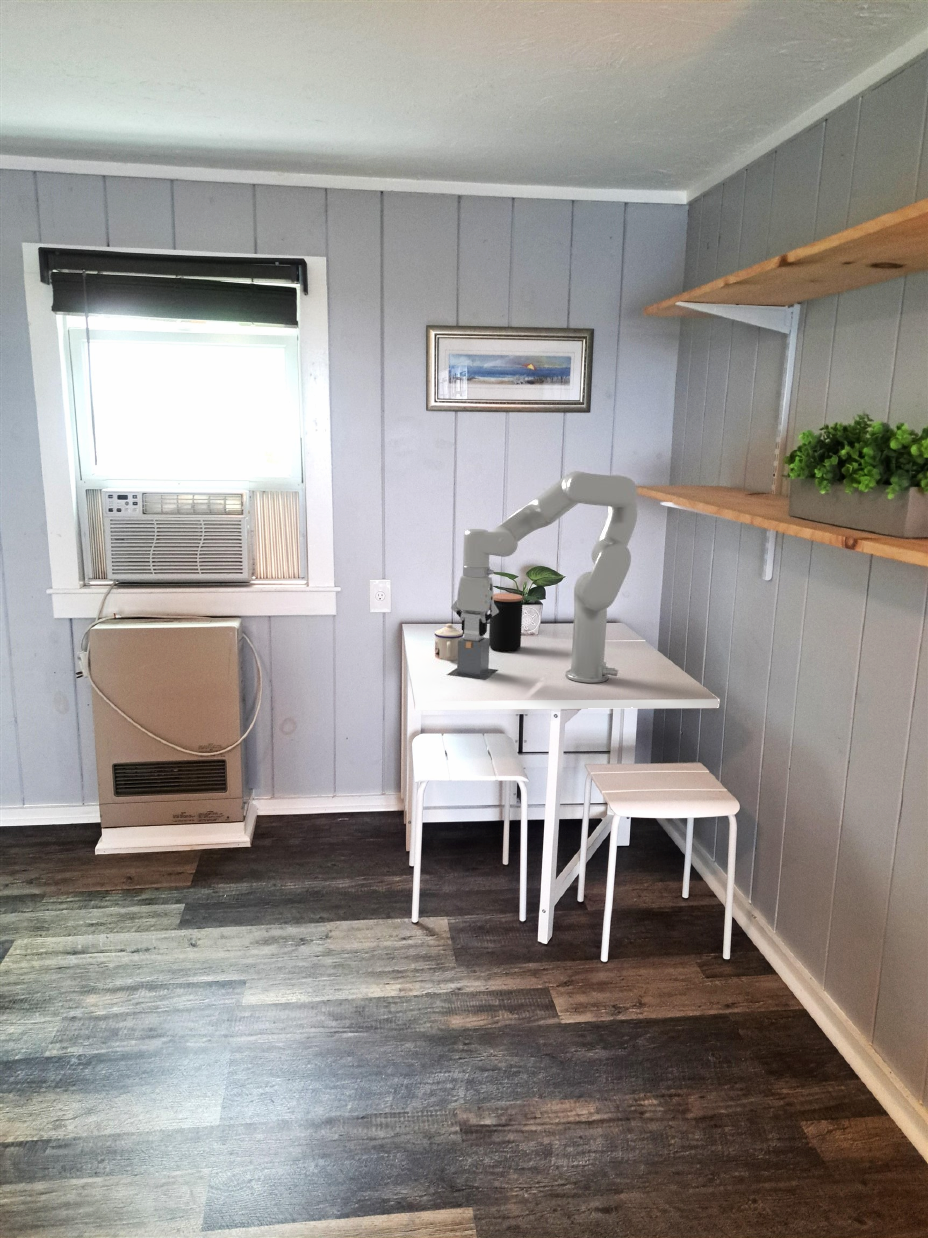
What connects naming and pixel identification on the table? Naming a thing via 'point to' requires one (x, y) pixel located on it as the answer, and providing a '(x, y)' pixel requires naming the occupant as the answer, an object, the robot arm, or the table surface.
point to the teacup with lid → (447, 642)
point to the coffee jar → (506, 623)
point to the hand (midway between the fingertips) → (474, 633)
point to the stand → (473, 660)
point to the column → (472, 626)
